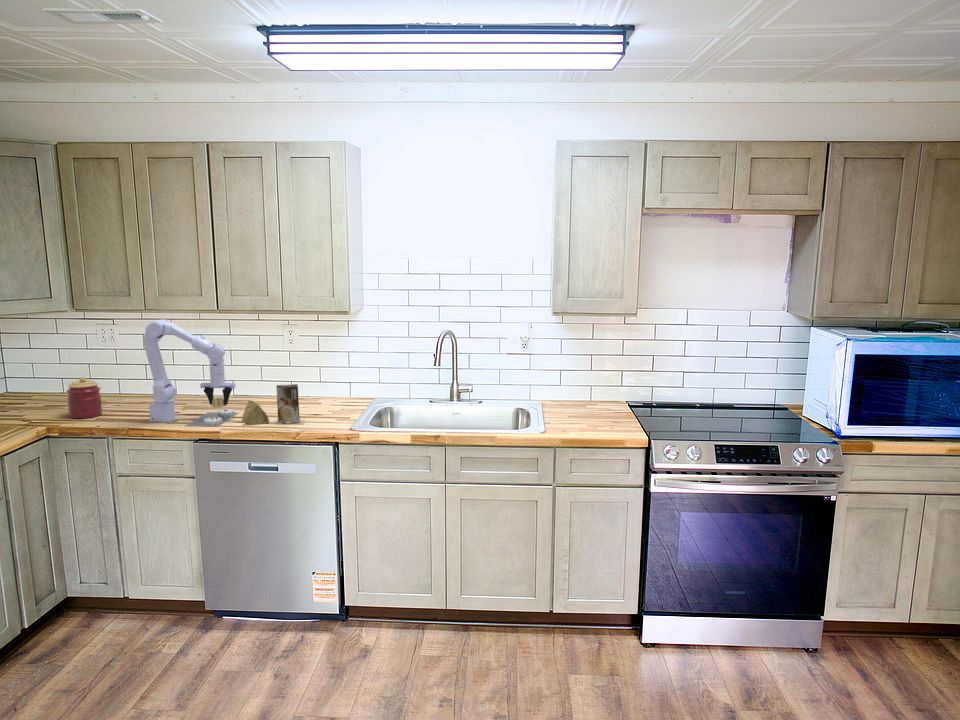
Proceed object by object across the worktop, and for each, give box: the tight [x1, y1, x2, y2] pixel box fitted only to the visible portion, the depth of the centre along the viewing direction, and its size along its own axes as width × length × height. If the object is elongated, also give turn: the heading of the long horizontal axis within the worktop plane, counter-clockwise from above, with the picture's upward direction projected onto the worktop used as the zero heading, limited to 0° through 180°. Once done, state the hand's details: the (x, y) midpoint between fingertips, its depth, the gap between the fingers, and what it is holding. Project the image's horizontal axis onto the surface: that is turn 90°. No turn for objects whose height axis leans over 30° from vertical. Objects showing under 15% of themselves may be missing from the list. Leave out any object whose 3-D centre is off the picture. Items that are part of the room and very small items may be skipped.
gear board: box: [185, 408, 239, 428], centre depth 286 cm, size 14×24×4 cm, turn 179°
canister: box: [66, 376, 103, 419], centre depth 292 cm, size 13×13×18 cm
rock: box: [241, 400, 270, 426], centre depth 283 cm, size 11×9×10 cm
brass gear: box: [211, 397, 227, 408], centre depth 285 cm, size 6×6×3 cm
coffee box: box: [275, 383, 301, 424], centre depth 287 cm, size 9×6×16 cm
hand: (218, 404), depth 285 cm, fingers closed on brass gear, 6 cm apart
